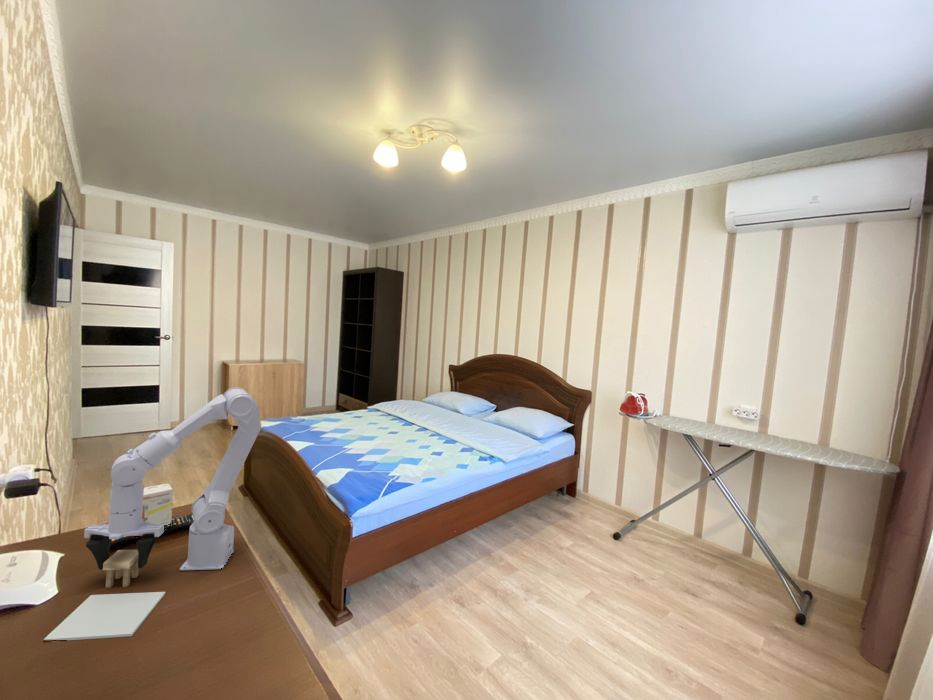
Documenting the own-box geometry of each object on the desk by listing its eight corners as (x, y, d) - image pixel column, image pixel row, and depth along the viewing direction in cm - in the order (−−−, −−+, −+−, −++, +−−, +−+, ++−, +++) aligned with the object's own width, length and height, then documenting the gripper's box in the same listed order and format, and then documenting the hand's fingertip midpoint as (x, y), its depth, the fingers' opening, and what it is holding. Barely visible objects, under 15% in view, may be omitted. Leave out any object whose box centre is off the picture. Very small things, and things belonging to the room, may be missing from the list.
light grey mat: (165, 593, 86) (165, 591, 86) (131, 636, 75) (131, 633, 75) (90, 597, 83) (91, 595, 83) (43, 642, 72) (43, 639, 72)
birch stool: (141, 574, 92) (143, 549, 92) (128, 588, 87) (129, 562, 87) (116, 575, 91) (118, 550, 90) (101, 589, 86) (103, 563, 86)
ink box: (133, 538, 105) (135, 496, 104) (128, 531, 108) (131, 490, 108) (171, 528, 112) (174, 488, 111) (166, 521, 115) (169, 482, 114)
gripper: (74, 516, 83) (71, 578, 83) (153, 516, 86) (149, 575, 86) (98, 502, 89) (95, 559, 90) (170, 502, 93) (166, 557, 93)
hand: (123, 566), depth 89 cm, fingers open, 7 cm apart
